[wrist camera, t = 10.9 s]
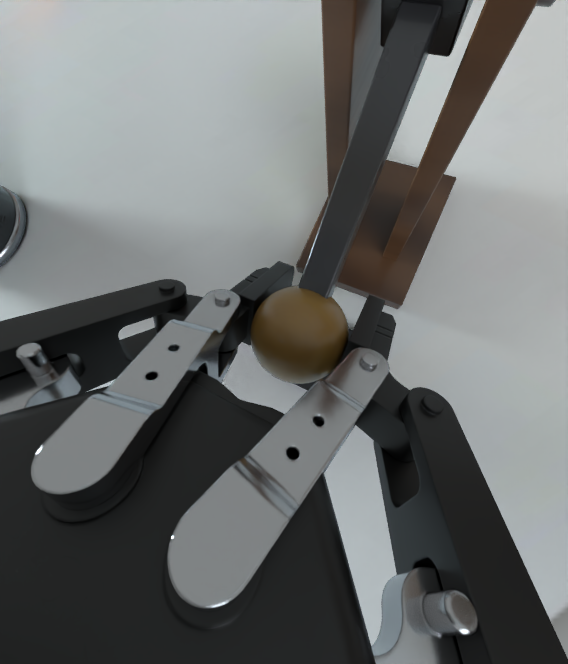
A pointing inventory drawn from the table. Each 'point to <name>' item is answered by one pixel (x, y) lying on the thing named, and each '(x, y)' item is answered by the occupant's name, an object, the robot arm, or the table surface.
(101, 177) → the table surface
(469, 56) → the brown wooden upright frame
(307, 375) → the lever with ball knob
